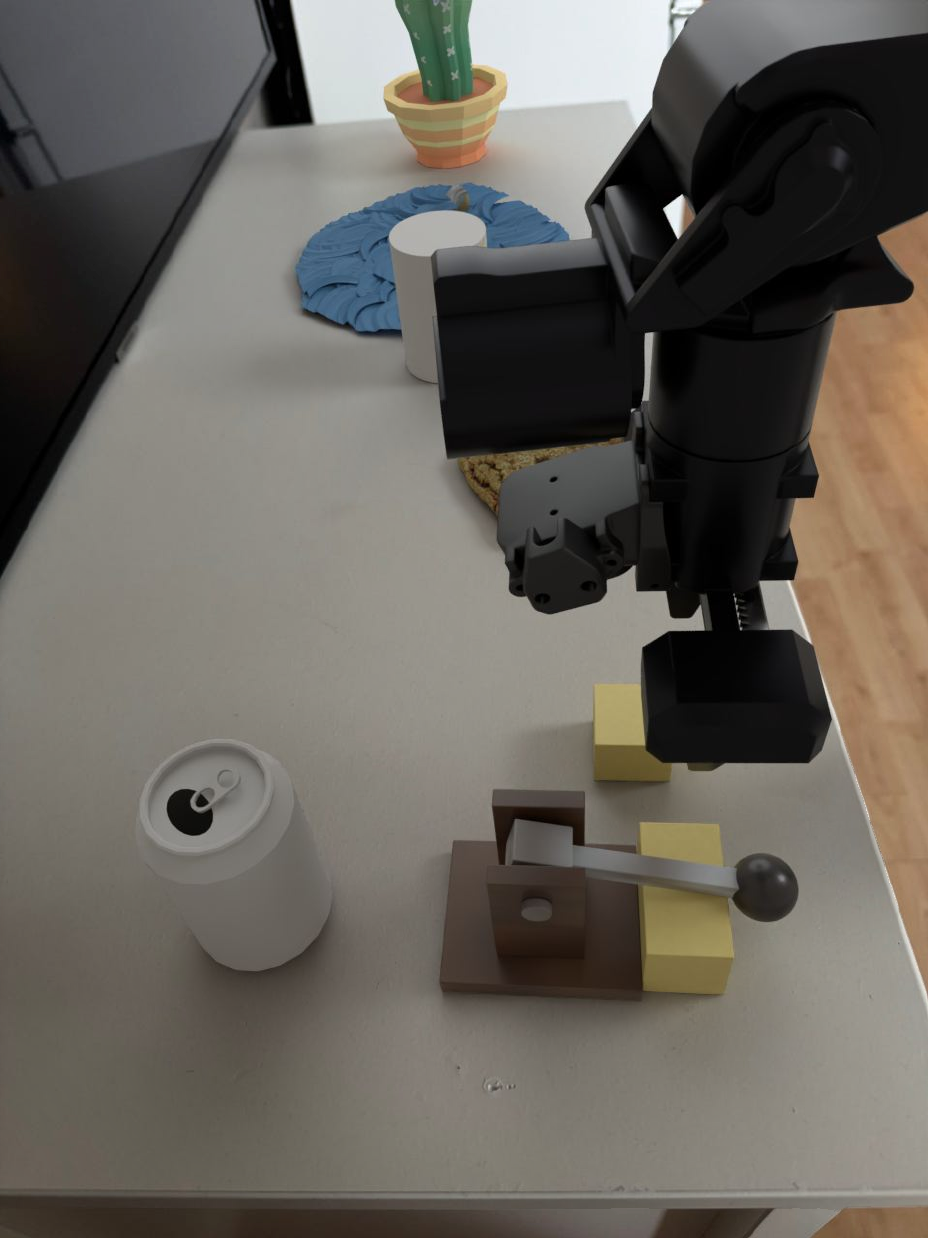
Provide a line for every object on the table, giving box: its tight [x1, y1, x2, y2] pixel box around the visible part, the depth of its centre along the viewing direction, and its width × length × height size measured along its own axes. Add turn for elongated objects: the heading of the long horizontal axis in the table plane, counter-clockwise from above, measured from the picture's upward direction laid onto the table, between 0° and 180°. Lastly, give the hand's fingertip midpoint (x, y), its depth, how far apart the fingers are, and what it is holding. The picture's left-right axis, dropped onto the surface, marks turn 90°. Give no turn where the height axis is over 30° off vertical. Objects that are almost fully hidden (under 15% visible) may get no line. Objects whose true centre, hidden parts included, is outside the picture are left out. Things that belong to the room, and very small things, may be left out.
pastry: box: [457, 438, 621, 517], centre depth 74 cm, size 17×17×3 cm
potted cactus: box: [382, 0, 509, 170], centre depth 111 cm, size 15×15×25 cm
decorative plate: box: [294, 182, 571, 332], centre depth 99 cm, size 30×30×5 cm
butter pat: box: [592, 683, 673, 782], centre depth 56 cm, size 4×4×4 cm
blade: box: [505, 819, 800, 923], centre depth 45 cm, size 14×3×3 cm, turn 85°
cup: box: [389, 210, 487, 384], centre depth 84 cm, size 8×8×12 cm
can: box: [135, 738, 333, 972], centre depth 48 cm, size 8×8×12 cm
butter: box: [636, 821, 735, 996], centre depth 48 cm, size 4×7×4 cm, turn 175°
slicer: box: [438, 788, 644, 1002], centre depth 47 cm, size 10×8×9 cm
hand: (689, 687), depth 45 cm, fingers open, 9 cm apart
